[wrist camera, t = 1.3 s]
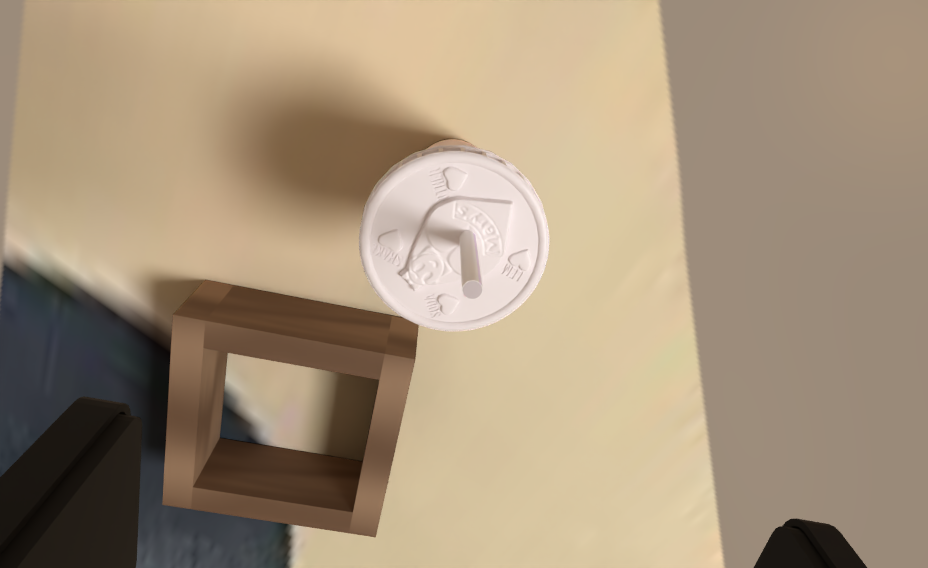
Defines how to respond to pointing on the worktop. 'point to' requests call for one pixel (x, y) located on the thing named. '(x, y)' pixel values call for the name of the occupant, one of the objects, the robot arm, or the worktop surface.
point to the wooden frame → (270, 468)
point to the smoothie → (453, 237)
